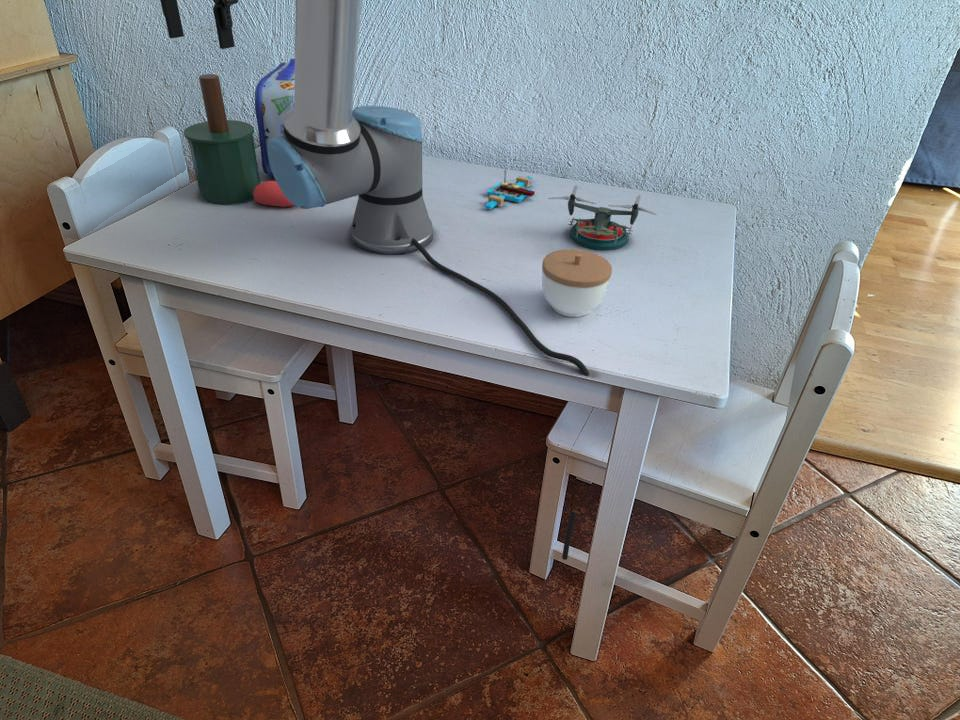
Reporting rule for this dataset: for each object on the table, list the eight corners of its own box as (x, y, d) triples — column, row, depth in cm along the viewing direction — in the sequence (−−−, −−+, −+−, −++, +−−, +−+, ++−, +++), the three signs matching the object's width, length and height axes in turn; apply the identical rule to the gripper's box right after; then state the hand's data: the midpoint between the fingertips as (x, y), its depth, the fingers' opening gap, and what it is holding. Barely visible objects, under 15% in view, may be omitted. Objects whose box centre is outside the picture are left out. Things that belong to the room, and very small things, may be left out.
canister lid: (268, 134, 132) (259, 75, 126) (216, 151, 123) (204, 89, 117) (223, 122, 138) (212, 65, 131) (170, 137, 128) (155, 77, 122)
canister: (273, 190, 139) (264, 131, 132) (229, 209, 131) (216, 147, 123) (233, 178, 144) (222, 120, 137) (187, 195, 136) (173, 134, 128)
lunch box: (288, 144, 163) (275, 48, 150) (329, 145, 164) (320, 50, 151) (259, 185, 141) (241, 77, 128) (308, 187, 141) (295, 79, 128)
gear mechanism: (551, 186, 147) (514, 177, 151) (553, 162, 144) (515, 154, 148) (511, 216, 133) (471, 206, 136) (513, 191, 130) (472, 181, 133)
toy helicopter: (653, 233, 129) (661, 192, 124) (646, 268, 117) (655, 225, 112) (554, 217, 133) (558, 178, 128) (537, 250, 121) (541, 207, 116)
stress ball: (283, 221, 130) (295, 192, 128) (243, 198, 130) (255, 169, 128) (294, 219, 135) (306, 191, 133) (256, 197, 135) (267, 169, 133)
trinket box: (598, 291, 110) (606, 240, 104) (610, 326, 101) (620, 272, 96) (534, 289, 109) (540, 238, 104) (541, 325, 101) (547, 271, 95)
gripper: (245, -94, 106) (265, 48, 118) (145, -103, 115) (173, 30, 128) (208, -94, 100) (233, 55, 113) (106, -103, 110) (139, 35, 123)
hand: (201, 42), depth 120 cm, fingers open, 13 cm apart
